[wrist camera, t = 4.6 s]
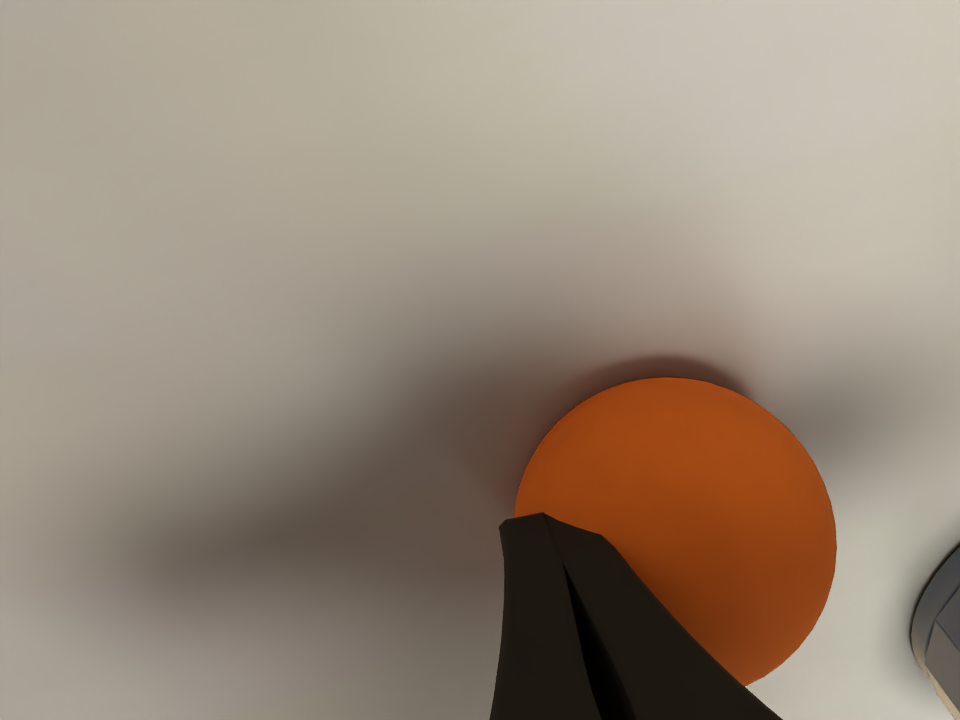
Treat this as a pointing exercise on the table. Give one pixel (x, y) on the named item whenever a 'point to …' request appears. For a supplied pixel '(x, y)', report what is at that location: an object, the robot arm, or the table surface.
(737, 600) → the ball
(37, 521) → the table surface
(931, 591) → the slate cup
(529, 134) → the table surface
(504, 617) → the robot arm
